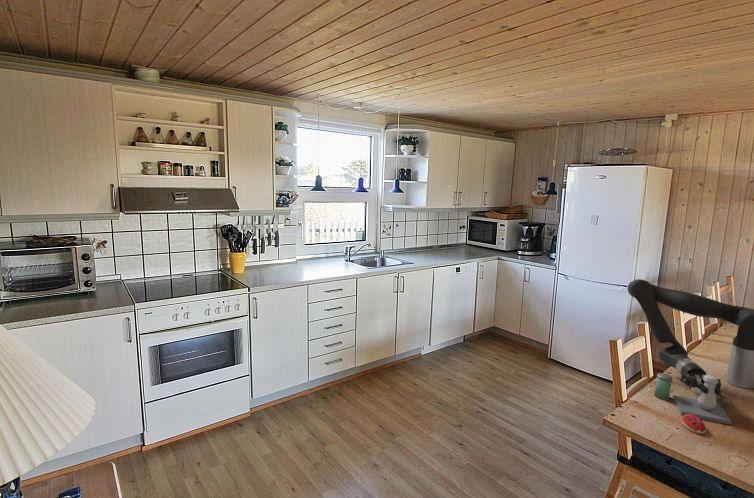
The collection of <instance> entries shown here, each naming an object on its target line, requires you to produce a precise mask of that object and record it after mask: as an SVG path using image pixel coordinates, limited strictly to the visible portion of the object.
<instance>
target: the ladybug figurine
mask: <svg viewBox="0 0 754 498" xmlns="http://www.w3.org/2000/svg"><path fill="white" fill-rule="evenodd" d="M680 422H681V424H682V425H683V426H684V428H686V429H687V430H689V431H691V432H693V433H695V434H698V435H699V434H701V435H703V434H705V433H707V427H706V425H705V423H704V422H703V421H702V419H699V418H698V417H697V416H695V415H693V414H687V415H685V416H684V415H682V418H681V421H680Z"/></svg>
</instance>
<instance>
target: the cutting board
mask: <svg viewBox="0 0 754 498" xmlns="http://www.w3.org/2000/svg"><path fill="white" fill-rule="evenodd" d="M672 399H673V401H674V404H675V405H676V406H677V407H676V408H677V409H678V411H679V413H680V415H681V416H685V415H687V414H693V415H695V416H697V417H698V418H699V419H700V420H704V421H710V422H714V423H720V424H725V425H729V426H730V425H731V424H732V420H731V419H730V417H729V416H728V414H727V413H726V411H725V410H724V408H723V406H721V405H720V404H719V403H716V407H715V408H714V409H713V410H710V411H708V410H704V409H702V408H701V407H699V405H698V401H697V398H692V397H688V396H687V397H686V396H682V395H681V396H680V395H675V394H673V396H672Z"/></svg>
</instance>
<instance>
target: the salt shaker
mask: <svg viewBox="0 0 754 498" xmlns="http://www.w3.org/2000/svg"><path fill="white" fill-rule="evenodd" d="M718 379H719V378H717V377H716V376H714V375H712V374H707V375H705V376H704V378H703V380H704V381H705V383H704V385H705V386H706V387H707V388H708V394H705V393H704V392H702V391H701V392H700V394H698V396H697V398H696V399H697V401H698V405H699V407H701V408H702V409H704V410H708V411H710V410H713V409H714V408H715V407H716V394H715V384H717V383H718Z"/></svg>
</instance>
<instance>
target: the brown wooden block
mask: <svg viewBox="0 0 754 498" xmlns="http://www.w3.org/2000/svg"><path fill="white" fill-rule="evenodd" d="M729 402H730V396H729V395H727V394H726V393H725V392H723V391H721V394H720V395H716V403H719V404H720V405H721V407H728V406H729Z"/></svg>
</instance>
